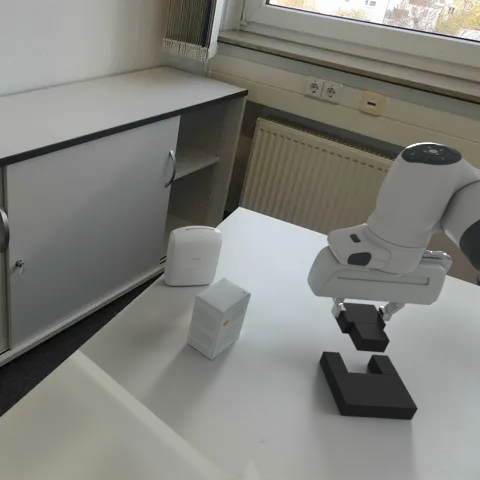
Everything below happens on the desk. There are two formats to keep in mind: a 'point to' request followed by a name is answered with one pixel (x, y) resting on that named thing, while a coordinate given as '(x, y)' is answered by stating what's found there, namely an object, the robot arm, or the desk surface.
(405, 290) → the robot arm
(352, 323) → the black block
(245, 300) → the small box
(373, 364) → the black notched block
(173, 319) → the desk surface
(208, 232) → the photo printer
